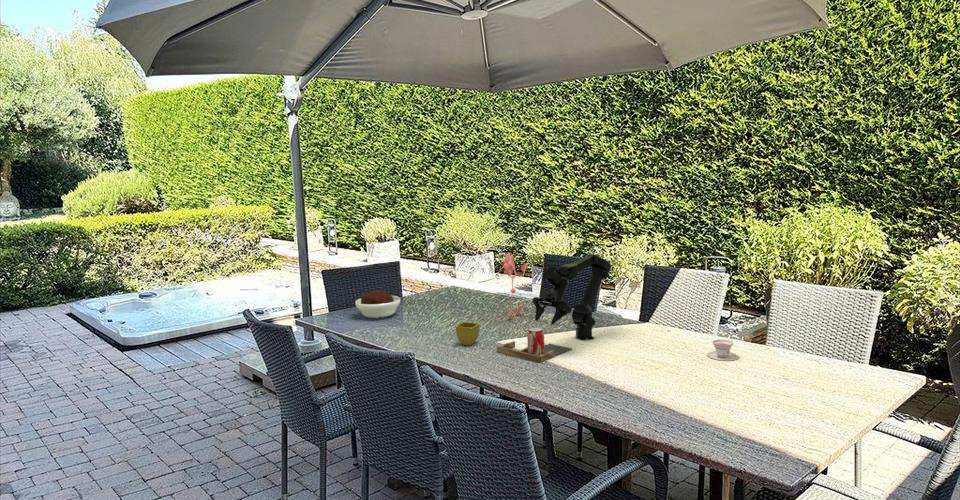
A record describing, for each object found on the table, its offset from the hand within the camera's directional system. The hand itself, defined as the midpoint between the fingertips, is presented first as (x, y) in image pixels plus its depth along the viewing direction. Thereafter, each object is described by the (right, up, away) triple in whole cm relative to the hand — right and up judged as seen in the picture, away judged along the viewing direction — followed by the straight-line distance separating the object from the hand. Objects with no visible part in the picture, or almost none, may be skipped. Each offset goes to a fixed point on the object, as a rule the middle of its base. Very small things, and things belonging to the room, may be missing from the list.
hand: (543, 322), depth 255 cm
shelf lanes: (-8, -14, -2) cm, 16 cm away
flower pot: (-33, -12, +17) cm, 39 cm away
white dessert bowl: (-84, -6, +78) cm, 115 cm away
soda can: (-4, -14, -5) cm, 16 cm away
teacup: (+71, -13, -14) cm, 74 cm away
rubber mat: (+4, -13, +2) cm, 13 cm away
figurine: (-11, -5, +64) cm, 65 cm away
